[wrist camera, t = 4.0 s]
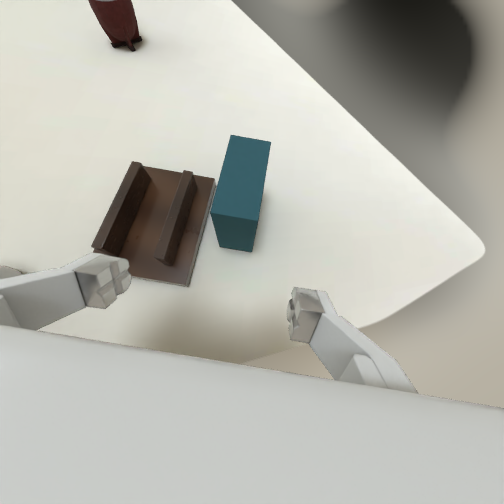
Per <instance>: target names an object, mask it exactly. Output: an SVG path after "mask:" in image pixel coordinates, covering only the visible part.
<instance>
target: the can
mask: <svg viewBox="0 0 504 504" xmlns="http://www.w3.org/2000/svg"><path fill="white" fill-rule="evenodd" d="M20 275H22V274H21V273H20V272H19V271H18V270H16V269H13V268H10V267H6V266H1V265H0V279H5V278H10V277H15V276H20Z"/></svg>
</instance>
